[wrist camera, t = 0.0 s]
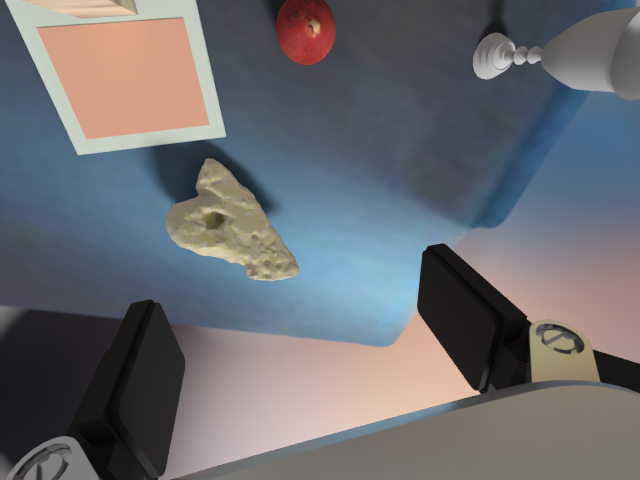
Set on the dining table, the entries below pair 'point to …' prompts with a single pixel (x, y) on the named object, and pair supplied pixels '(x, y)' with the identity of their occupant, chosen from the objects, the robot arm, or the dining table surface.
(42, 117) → the dining table surface
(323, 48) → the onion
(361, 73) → the dining table surface
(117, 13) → the maple block
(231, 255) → the beige rock
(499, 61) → the chalice
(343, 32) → the dining table surface
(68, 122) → the mat
